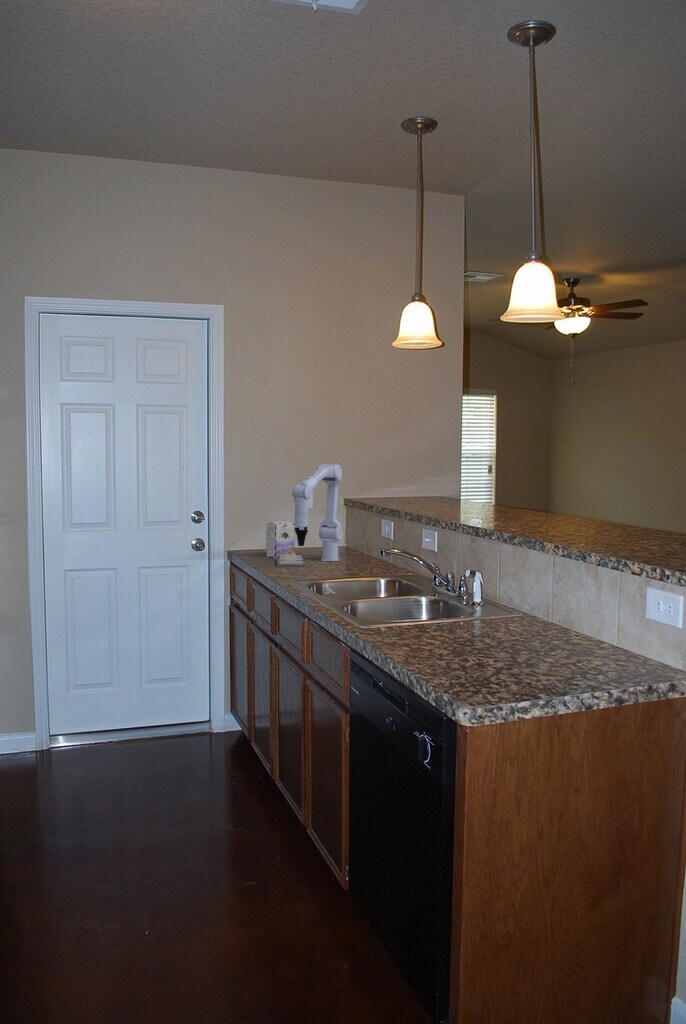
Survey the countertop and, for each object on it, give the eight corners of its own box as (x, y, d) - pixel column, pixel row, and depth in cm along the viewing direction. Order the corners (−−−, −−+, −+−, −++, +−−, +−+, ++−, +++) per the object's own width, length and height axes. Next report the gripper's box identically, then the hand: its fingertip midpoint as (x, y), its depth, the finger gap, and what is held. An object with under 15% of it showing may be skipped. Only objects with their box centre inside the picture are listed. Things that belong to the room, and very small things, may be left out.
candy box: (284, 554, 381) (285, 519, 380) (294, 555, 378) (294, 520, 376) (265, 557, 370) (266, 521, 369) (275, 558, 367) (275, 522, 365)
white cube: (285, 561, 351) (285, 551, 350) (295, 561, 351) (296, 551, 350) (285, 562, 346) (285, 552, 346) (295, 562, 346) (296, 552, 346)
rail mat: (277, 559, 362) (277, 555, 362) (303, 560, 363) (304, 555, 363) (276, 566, 344) (277, 561, 344) (304, 566, 345) (304, 561, 345)
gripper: (291, 511, 346) (291, 542, 348) (292, 514, 332) (291, 546, 333) (307, 511, 347) (307, 542, 348) (309, 514, 333) (308, 547, 334)
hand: (300, 544), depth 341 cm, fingers open, 7 cm apart
